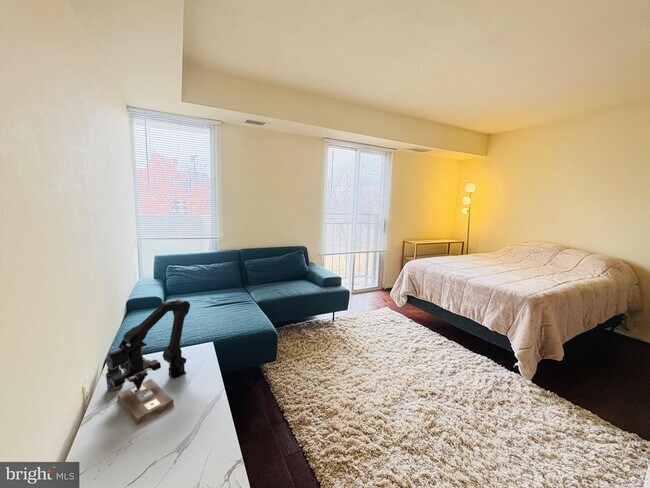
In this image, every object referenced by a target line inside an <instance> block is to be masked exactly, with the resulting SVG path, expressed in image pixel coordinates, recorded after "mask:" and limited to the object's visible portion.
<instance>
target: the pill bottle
mask: <svg viewBox="0 0 650 488" xmlns="http://www.w3.org/2000/svg"><path fill="white" fill-rule="evenodd" d="M106 369H107V372H106V374H105V377H106V386H107V387H106V388H107V391H108V392H115V391H118V390H120V389H122V387H123V386H124V384H122V385H120V386H117V387H114V386H113V384H112V383H111V380H110V379H111V377H112V376H114V375H117V374H119V373H121V374H122V375H123V371H122V370H123V369H121V368H120V366H118V367H115V368H113V369H109V368H108V367H107V368H106Z"/></svg>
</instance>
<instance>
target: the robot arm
mask: <svg viewBox="0 0 650 488" xmlns="http://www.w3.org/2000/svg"><path fill="white" fill-rule="evenodd" d="M190 308H191V303H190V302H189V301H187V300H184V299H176V300H173V301H172V300H171V301H167V302H166V301H165V302H161V303H160V304H159V306H158V307H157V308H156V309H155V310H153V312H152V313H151V314H149V315H148V316H147V317H146V318H145V319H144V320H143V321H142V322H141V323H140V324H138V325H136V326H134V327H131V329H129V330H128V331H127V332H125V334H124V335H123V338H122V340H121V342H120V344H119V346H118V349H117V350H114V351H111V352H110V351H109V352H108V353H107V356H106V359H105V363H106V366H107V368H109V369H113V368H115V367H118V366H119V367H120V368H119V369H121V370H123V369H124V368H125V369H127V372H126V373H124V374H123V373H122V374H121V373H119V374H117V375H114V376H112V377H111V379H110V380H111V383H112V384H113V386H114V387H117V386H120V385H122V384H123V385H124V384H125V383H126V380H127V381H128V382H129V383H133V384H134V385H133V386H136V388H137V390H139V389H140V387H141V385H142V383H143V382H144V380H145V378H147V376H148V375H149V373H148V372H147V371H148V370H150V369H151V371H157V370H159V369H161V368H162V366H161V362H160V361H158V360H157V359H153V360H150V362H148V363H147V366H145V367H144V365H143V362H144V360H143V355H144V354H143V347H145V346H146V347H147V345H148V344H147V342H144V339H146V337H147V335H148V333H149V332H150V331H151V329H152V328H153V327H154V326H155V325H156V324H157V323H158V322H159V321H160V320H161V319H162V318H164V316H165V315H166V314H168V312H172V314H173V322H172V327H171V333H170V340H169V343H168V346H167V347H165V348H163V353H162V357H163V358H162V359H163V360H164V361H165V362H167V364H168V365H169V366H168V376H170V377H171V378H172V379H176V378H179V377H181V376H184V375H185V374H187V371H186V370H185V364H186V362H187V358H185V357H183V355H182V353H183V352H182V349H181V340H182V336H183V330H184V329H183V327H184V322H185V318H186V316H187V315H188V313H189V312H190ZM127 344H128V345H127Z"/></svg>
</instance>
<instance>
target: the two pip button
mask: <svg viewBox="0 0 650 488" xmlns="http://www.w3.org/2000/svg"><path fill="white" fill-rule="evenodd" d="M144 390H146V388H145V387H144V386H143V385H141V387H140V389H139V390H137V388H136V387H135V388H133V389H130V392H131V393H132V394H133V395H135V394H137V393H139V392H141V391H144Z"/></svg>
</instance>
